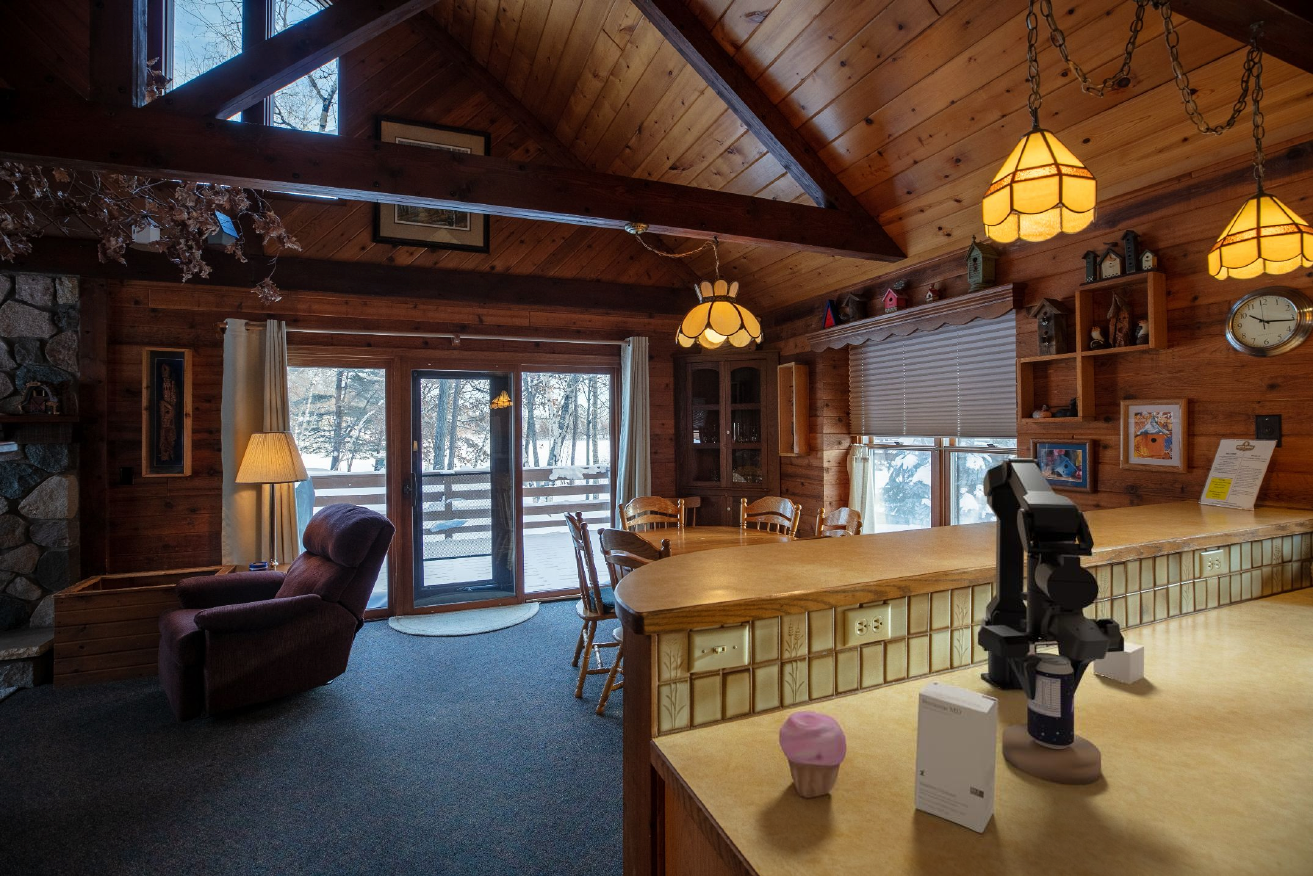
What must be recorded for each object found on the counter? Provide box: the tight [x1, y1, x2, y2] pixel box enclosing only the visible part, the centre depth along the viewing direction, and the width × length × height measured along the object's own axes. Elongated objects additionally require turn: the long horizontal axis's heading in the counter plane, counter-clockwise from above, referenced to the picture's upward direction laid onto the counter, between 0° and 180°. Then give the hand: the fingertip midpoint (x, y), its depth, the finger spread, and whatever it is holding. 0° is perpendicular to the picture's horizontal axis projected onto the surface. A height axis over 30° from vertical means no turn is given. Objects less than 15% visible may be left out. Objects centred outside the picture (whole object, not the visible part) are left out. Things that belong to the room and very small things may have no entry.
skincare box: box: [913, 680, 999, 834], centre depth 79 cm, size 8×6×15 cm
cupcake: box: [778, 710, 847, 799], centre depth 84 cm, size 9×9×10 cm
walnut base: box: [1001, 723, 1102, 786], centre depth 90 cm, size 12×12×2 cm
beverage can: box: [1026, 652, 1075, 749], centre depth 90 cm, size 6×6×12 cm
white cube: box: [1093, 641, 1145, 685], centre depth 120 cm, size 6×6×6 cm
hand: (1049, 697), depth 90 cm, fingers closed on beverage can, 6 cm apart
